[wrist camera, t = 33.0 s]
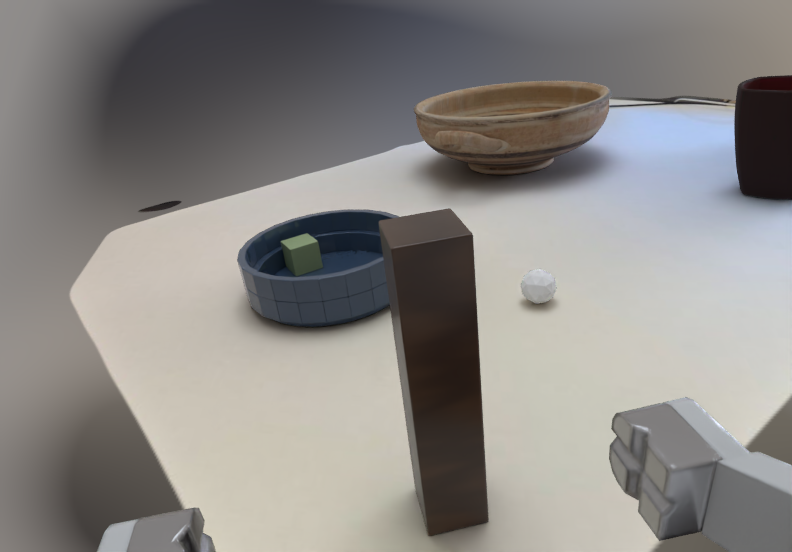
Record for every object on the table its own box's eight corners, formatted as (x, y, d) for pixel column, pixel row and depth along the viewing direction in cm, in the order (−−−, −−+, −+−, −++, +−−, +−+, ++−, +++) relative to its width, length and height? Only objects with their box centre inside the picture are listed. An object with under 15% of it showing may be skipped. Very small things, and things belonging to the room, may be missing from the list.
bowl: (244, 347, 45) (229, 295, 43) (255, 267, 60) (244, 225, 57) (434, 310, 47) (429, 259, 45) (399, 241, 62) (394, 200, 59)
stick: (428, 537, 27) (390, 248, 20) (415, 487, 30) (377, 220, 23) (489, 522, 28) (473, 233, 20) (470, 475, 30) (450, 207, 23)
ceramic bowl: (561, 213, 64) (564, 127, 59) (367, 193, 79) (357, 124, 74) (633, 136, 90) (638, 73, 86) (478, 133, 105) (476, 79, 101)
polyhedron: (538, 289, 48) (538, 259, 47) (563, 302, 46) (564, 271, 44) (513, 300, 47) (513, 269, 46) (538, 314, 45) (538, 282, 43)
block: (296, 276, 54) (290, 249, 53) (286, 267, 57) (280, 241, 55) (323, 267, 56) (318, 241, 54) (312, 258, 58) (307, 232, 57)
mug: (711, 199, 62) (728, 91, 57) (740, 166, 71) (757, 70, 66) (818, 211, 56) (848, 91, 51) (834, 173, 65) (861, 68, 60)
